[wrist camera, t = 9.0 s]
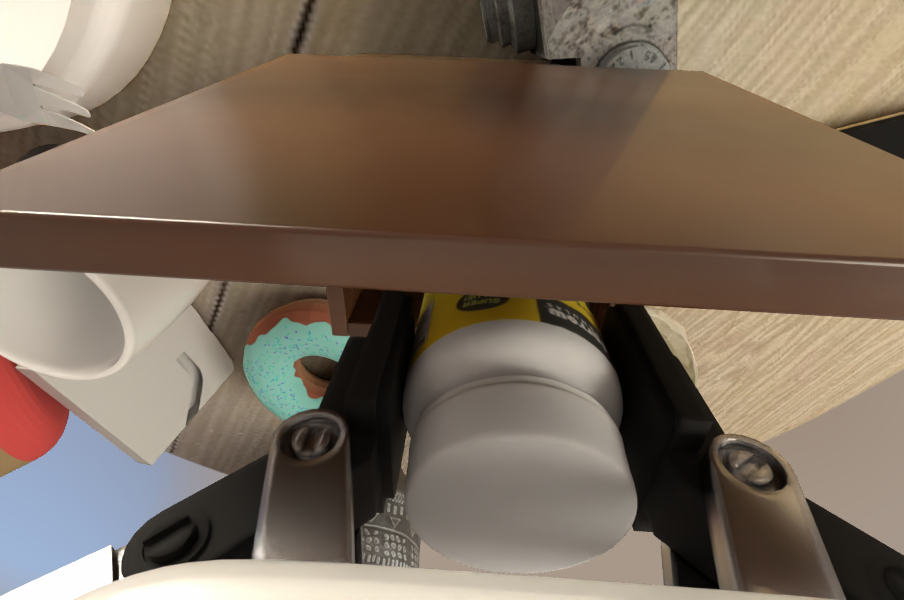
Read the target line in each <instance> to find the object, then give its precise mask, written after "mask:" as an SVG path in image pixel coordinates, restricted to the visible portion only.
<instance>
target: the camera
mask: <svg viewBox="0 0 904 600" xmlns="http://www.w3.org/2000/svg"><path fill="white" fill-rule="evenodd" d="M479 2H480V7H481V12H482V18H483V23H484V28H485V33H486V38H487V42H491V43H494V42H497V41H499V43H500V44H501V46H502V48H503V47H506V46H509V45H511V46H512V47H513V49H514V51H515V52H516V54H518V53H521V52H525V51H528V50H531V53H533V54H536V55H538V56H540V57H543V58H545V59H551V61H552V62H554V63H557V64H559V65H565V66H588V67H612V68H635V69H659V70H677V0H479Z"/></svg>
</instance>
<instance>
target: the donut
mask: <svg viewBox="0 0 904 600" xmlns="http://www.w3.org/2000/svg"><path fill="white" fill-rule="evenodd" d="M349 337H350V336H349V335H348V336H333V335H332V328H331V321H330V314H329V307H328V300H327V299H303V300H298V301H293V302H290V303H288V304H285V305H283V306H281V307H278V308H276V309H274V310H272V311H271V312H270V313H268V314H267V315H266V316H264V317H263V318H262V319H260V320H259V321H258V323H257V324H256V325H255V326H254V328H253V329H252V331H251V333H250V336H249V338H248V340H247V343H246V345H245V348H244V360H243V369H244V373H245V375H246V378H247V380H248V382H249V385H250V387H251V389H252V390H253V391H254V393H255V394H256V395H257V397H258V398H259V400H260V401H261V403H262V404H263V405H264V406H265V407H266V408H267V409H268V410H270V411H271V412H272V413H274V414H275V415H277V416H278V417H279V418H281V419H282V420H284V421H285V420H286V419H288V418H289V417H290V416H293V415H295V414H297V413H299V412H301V411H305V410H309V409H318V408H319V406H320V403H321V401H322V399H323V396H324V394H325V392H326V389H327V387H328V385H329V382H330V381H327V380H323V379H321V378H318V377H316V376H315V375H313V374H311V373H310V372H309V371H308V370H306V368H305V367H304V366H303V365H302V363H301V357H304V356H313V355H314V356H322V357H326V358H329V359H332V360H334V361H336V362H338V361H339V359H340V357H341V354H342V352H343V350H344V347H345V345H346V343H347V340H348V339H349Z"/></svg>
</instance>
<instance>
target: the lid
mask: <svg viewBox="0 0 904 600" xmlns="http://www.w3.org/2000/svg"><path fill="white" fill-rule="evenodd" d="M0 268H10V269H27V270H44V271H61V272H79V273H96V274H113V275H130V276H148V277H165V278H182V279H199V280H216V281H234V282H251V283H268V284H285V285H303V286H320V287H337V288H354V289H371V290H389V291H406V292H423V293H440V294H458V295H475V296H492V297H509V298H526V299H544V300H561V301H578V302H595V303H612V304H630V305H647V306H664V307H681V308H699V309H716V310H733V311H750V312H767V313H785V314H802V315H819V316H836V317H854V318H871V319H888V320H904V159H902V158H899V157H897V156H895V155H893V154H890V153H888V152H886V151H883V150H881V149H879V148H877V147H874V146H872V145H870V144H867V143H865V142H863V141H861V140H858V139H856V138H854V137H851V136H849V135H847V134H845V133H842V132H840V131H838V130H836V129H833V128H831V127H829V126H826V125H824V124H822V123H820V122H817V121H815V120H813V119H810V118H808V117H806V116H804V115H801V114H799V113H797V112H794V111H792V110H790V109H788V108H785V107H783V106H781V105H778V104H776V103H774V102H772V101H769V100H767V99H765V98H762V97H760V96H758V95H756V94H753V93H751V92H749V91H746V90H744V89H742V88H740V87H737V86H735V85H733V84H730V83H728V82H726V81H724V80H721V79H719V78H717V77H714V76H712V75H710V74H708V73H705V72H703V71H682V70H659V69H635V68H612V67H588V66H565V65H542V64H518V63H495V62H471V61H448V60H424V59H401V58H378V57H354V56H331V55H307V54H287V55H284V56H282V57H279V58H277V59H274V60H272V61H269V62H267V63H264V64H262V65H259V66H257V67H254V68H252V69H249V70H247V71H244V72H242V73H239V74H237V75H234V76H232V77H229V78H227V79H224V80H222V81H219V82H217V83H215V84H212V85H210V86H207V87H205V88H202V89H200V90H197V91H195V92H192V93H190V94H187V95H185V96H182V97H180V98H177V99H175V100H172V101H170V102H167V103H165V104H162V105H160V106H157V107H155V108H152V109H150V110H147V111H145V112H142V113H140V114H137V115H135V116H133V117H130V118H128V119H125V120H123V121H120V122H118V123H115V124H113V125H110V126H108V127H105V128H103V129H100V130H98V131H95V132H93V133H90V134H88V135H85V136H83V137H80V138H78V139H75V140H73V141H70V142H68V143H65V144H63V145H60V146H58V147H55V148H53V149H51V150H48V151H46V152H43V153H41V154H38V155H36V156H33V157H31V158H28V159H26V160H23V161H21V162H18V163H16V164H13V165H11V166H8V167H6V168H3V169H1V170H0Z"/></svg>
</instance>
